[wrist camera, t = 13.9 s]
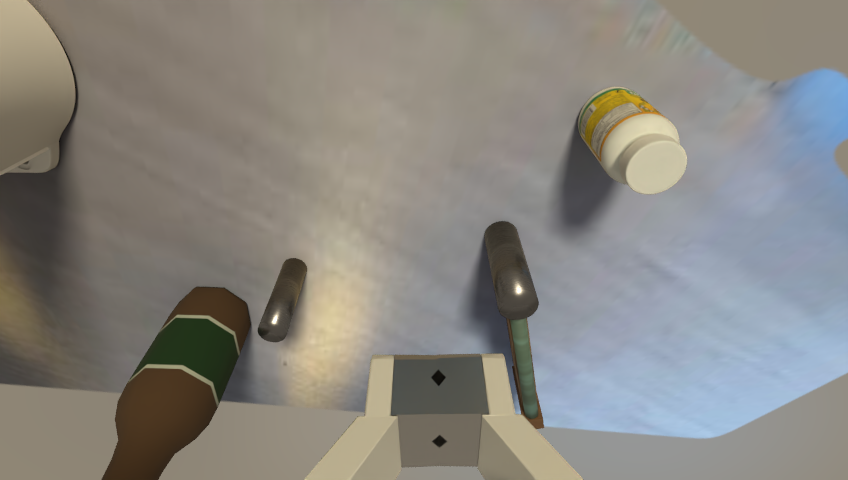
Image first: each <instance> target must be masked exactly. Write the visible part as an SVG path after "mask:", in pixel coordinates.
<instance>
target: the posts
mask: <svg viewBox="0 0 848 480" xmlns="http://www.w3.org/2000/svg"><path fill="white" fill-rule="evenodd" d="M484 238H485V243H486V249H487V254H488V259H489V264H490V269H491V274H492V279H493V285H494V290H495V295H496V300H497V305H498V310H499V312H500V314H501V315H502V316H504V317H505V318H507V319H511V320H521V319H525V318H527V317H529V316H531V315H532V314H534V312H535V311H536V310H537V308H538V303H539V302H538V298H537V295H536V292H535V288H534V285H533V282H532V278H531V275H530V272H529V268H528V265H527V262H526V258H525V255H524V252H523V248H522V245H521V242H520V238H519V235H518V232H517V229H516V227H515V226H514V225H513V224H511V223H509V222H505V221H500V222H496V223H493V224H492V225H490V226H489V227H488V228H487V230H486V231H485V235H484ZM306 272H307V266H306V264H305V263H304V262H303V261H301V260H299V259H296V258H291V259H288V260H286V261H285V262H284V264H283V266H282V269H281V271H280V274H279V276H278V279H277V281H276V284H275V286H274V289H273V291H272V294H271V297H270V299H269V302H268V304H267V307H266V309H265V312H264V314H263V317H262V319H261V322H260V324H259V327H258V334H259V335H260V336H261V337H262V338H263V339H264V340H267V341H270V342H279V341H282V340H283V339H284V338H285V337H286V334H287V331H288V328H289V325H290V322H291V319H292V315H293V312H294V309H295V306H296V303H297V300H298V297H299V294H300V290H301V287H302V284H303V281H304V278H305V275H306Z"/></svg>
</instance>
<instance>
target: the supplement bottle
mask: <svg viewBox="0 0 848 480" xmlns="http://www.w3.org/2000/svg"><path fill="white" fill-rule="evenodd" d="M578 129H579V133H580V135H581V137H582V139H583V140H584V142H585V143H586V145H587V146H588V147H589V149H590V150H591V152H592V153H593V154H594V156H595V157H596V159H597V160H598V161H599V163H600V164H601V166H602V167H603V169H604V170H605V171H606V173H607V174H608V175H609V176H610V177H611V178H612V179H614V180H615V181H617V182H620V183H623V184H627V185H628V186H629V187H630V188H631V189H632V190H634V191H636V192H638V193H641V194H647V195H648V194H657V193H660V192H663V191H665V190H667V189H669V188H670V187H672V186H673V185H674V184H675V183H677V182H678V180H679V179H680V178H681V177H682V175H683V174H684V172H685V169H686V166H687V156H686V153H685V151H684V149H683V148H682V147H681V146H680V145H679V136H678V132H677V130H676V128H675V127H674V125H673V124H672V123H671V122H670V121H669V120H668V119H667V118H665V117H664V116H663V115H662V114H661V113H659V112H658V111H657V110H656V109H655V108H653V107H652V106H651V105H650V104H649V103H648V102H646V101H645V100H644V99H643V98H642V97H640V96H639V95H638V94H637V93H635V92H634V91H632V90H629V89H627V88H623V87H610V88H607V89H604V90H602V91H600V92H598V93H596V94H595V95H593V96H592V97H591V98H590V99H589V100H588V101H587V102H586V104H585V105H584V107H583V108H582V110H581V112H580V115H579V119H578Z"/></svg>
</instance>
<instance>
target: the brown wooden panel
mask: <svg viewBox="0 0 848 480" xmlns="http://www.w3.org/2000/svg"><path fill="white" fill-rule="evenodd" d="M506 320H507V326H508V332H509V339H510V345H511V351H512V357H513V363H514V366H512V368H513V374H514V380H515V385H516V390H517V395H518V400H519V405H520V410H521V415H523V416H524V417H525V418H526V419H527V420H528V421H529V422H530V423H531V424H532V425H533V427H534V428H535V429H540V428H544V424H543V417H542V413H541V409H540V405H539V400H538V396H537V392H536V385H535V377H534V370H533V362H532V354H531V346H530V338H529V331H528V323H527V318H525V319H521V320H511V319H507V318H506Z"/></svg>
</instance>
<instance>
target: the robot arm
mask: <svg viewBox="0 0 848 480" xmlns="http://www.w3.org/2000/svg"><path fill="white" fill-rule="evenodd" d="M74 105H75V83H74V78H73V74H72V70H71V67H70V64H69V61H68V59H67V56H66V54H65V52H64V50H63V48H62V46H61V44H60V42H59V40H58V39H57V37H56V35H55V34H54V32H53V31H52V29H51V28H50V26H49V25H48V24H47V22H46V21H45V20H44V19H43V17H42V16H41V15H40V14H39V13H38V11H37V10H36V9H35V8H34V7H33V6H32V5H31V4H30V3H29V2H28V1H27V0H0V175H2V174H4V173H43V172H47V171H49V170H51V169H53V168H55V167H56V166H57V164H58V161H59V139H60V136H61V134H62V132H63V131H64V129H65V127H66V126H67V124H68V123H69V121H70V119H71V116H72V114H73V110H74ZM439 464H440V466H478V470H479V471H480V473H481V474H482V475H483V477H484V478H485V480H583V478H582V477H581V476H580V475H579V474H578V473H577V472H576V471H575V470H574V469H573V468H572V467H571V466H570V465H569V464H568V463H567V461H566V460H565V459H564V458H563V457H562V456H561V455H560V454H559V453H558V452H557V451H556V450H555V449H554V448H553V447H552V446H551V445H550V443H548V441H547V440H546V439H545V438H544V437H543V436H542V435H541V434H540V433H539V432H538V431H537V430H536V429H535V428H534V427H533V425H532V424H531V423H530V422H529V421H528V420H527V419H526V418H525V417H524V416H523V415H519V414H515V409H514V404H513V399H512V393H511V388H510V383H509V378H508V372H507V367H506V362H505V357H504V355H503V354H481V355H480V354H447V355H373V356H372V359H371V363H370V372H369V380H368V389H367V397H366V406H365V415H364V416H358V417H357V418H356V419H355V420H354V421H353V423H352V424H351V425H350V426H349V427H348V429H347V430H346V431H345V432H344V433H343V434H342V436H341V437H340V438H339V439H338V440H337V442H336V443H335V444H334V445H333V446H332V447H331V449H330V450H329V451H328V452H327V453H326V455H325V456H324V457H323V458H322V459H321V460H320V461H319V463H318V464H317V465H316V466H315V467H314V469H313V470H312V471H311V472H310V473H309V474H308V476H307V477H306V478H305V479H304V480H396V478H397V476H398V475H399V473H400V472H401V467H423V466H439Z"/></svg>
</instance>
